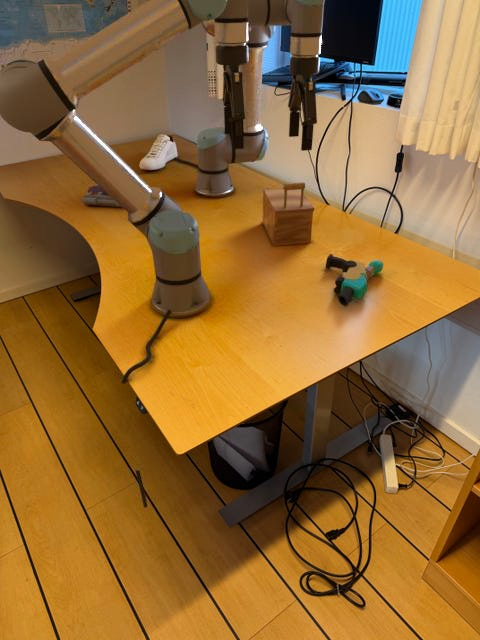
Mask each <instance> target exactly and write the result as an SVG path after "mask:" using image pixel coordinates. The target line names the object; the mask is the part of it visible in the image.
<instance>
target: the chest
mask: <svg viewBox="0 0 480 640" xmlns="http://www.w3.org/2000/svg"><path fill="white" fill-rule="evenodd" d="M313 217H314V211H309V212H296V213H284V214H275V212H274V211H273V209H272V207H271V205H270V203H269V202H268V200H267V198H266V196H265V194H264V192H263V191H262V224H263V227H264V229H265V231H266V233H267V236H268V237H269V239H270V241H271V243H272V245H273V247H275V246H276V247H277V246H287V245H289V246H290V245H299V244H308V243H309V244H311V241H312V240H311V239H312V231H313V227H312V226H313V219H314V218H313Z"/></svg>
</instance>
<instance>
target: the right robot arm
mask: <svg viewBox="0 0 480 640" xmlns="http://www.w3.org/2000/svg"><path fill="white" fill-rule="evenodd" d="M325 2H326V0H248V26H250V27H251V30H250V31H248V42H247V43H246V45H248V63H247V64H244V65H239V72H242V74H243V76H242V83H243V96H244V110H245V119H244V120H243V121H244V149H232V134H225V126H219V127H218V126H217V127H216V126H215V127H209V128H206V129H204V130H202V131H200V132H199V133H198V134H197V137H196V149H197V163H198V164H197V163H194V162H192V161H188V160H184V159H182V158H178V157H175V158H174V159H173V160H175V161H178V162H181V163H183V164H188V165H191V166H193V167H196V168H198V175H197V179H196V182H195V190H194V191H195V194H196V195H198V196H200V197H204V198H206V199H207V198H208V199H209V198H210V199H217V198H219V199H220V198H225V197H227V196H230V195H232V194H234V191H235V187H234V182H233V180H232V177H231V174H230V171H229V168H230V167H229V166H230V165H231V164H232V165H233V164H242V163H255V162H259V161H262V160H263V159H264V158H265V157H266V155H267V152H268V149H269V134H268V131H267V129H265V128H264V127H265V126H264V124H263V123H262V122H261V109H262V108H261V107H262V88H263V87H262V85H263V68H264V67H263V64H264V51H265V49H266V48H267V47H268V46H269V39H272V38H273V37H274V36H275V33H276V26H277V27H279V26H291V27H290V28H291V29H290V43H289V45H290V46H289V55H291V56H290V58H289V70H288V71H289V73H290V74H291V77H292V78H291V85H290V92H289V96H288V97H289V98H288V102H287V103H288V104H287V108H289V127H288V137H289V138H294V137H299V136H300V126H302V131H301V144H300V151H302V152H303V151H304V152H305V151H312V150H313V139H314V138H313V137H314V126H315V125H317V123H318V117H317V116H318V115H317V114H318V113H317V96H316V95H317V93H316V88H317V83H316V81H315V80H312V76H313V75H317V74H319V73H320V63H321V58H320V57H319V55H320V54H321V49H322V48H321V47H322V46H321V45H323V44H324V41H323V39H322V35H323V34H322V33H323V23H324V11H325ZM214 22H215V21H214V19H212V20H208V21H203V22H201V23H200V24H201V26H202V28H203V30H204V31H205V32H206V33H207V34H208V35H210V36H211V37H214V38H215V28H214ZM301 111H302V119H303V121H302V122H301V125H300V119H301V116H300V115H301Z"/></svg>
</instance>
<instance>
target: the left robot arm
mask: <svg viewBox="0 0 480 640" xmlns="http://www.w3.org/2000/svg"><path fill="white" fill-rule="evenodd" d="M212 19H214V21H215V22H214V28H215V37H214V42H215V43H216V44H217V45H215V62H216V64H217V65H220V66H222V68H223V72H222V78H223V80H222V81H223V82H222V100H221V101H222V102H223V121H224V123H223V125H224V128H225V134H232V149H244V121H243V120H244V119H245V110H244V96H243V83H242V76H243V74H242V72H239V65H244V64H247V63H248V45H246V43H247V42H248V31H250V30H251V27H250V26H248V0H147V1H146V2H144V3H142V4H141V5H139V6H137V7H136V8H134V9H132V10H131V11H130V12H128V13H126V14H125V15H124V16H121V17H120V18H119V19H116V21H113V22H112V23H110V24H109V25H107V26H106V27H104V28H103V29H100V31H98V32H96V33H94V34H93V35H91V36H90V37H89V38H86V39H85V40H84V41H82V42H80V43H78V44H76V45H75V46H74V47H72V48H70V49H69V50H68V51H66V52H64V53H63V54H61V55H60V56H58V57H57V58H55V59H50V58H46V57H44V58H42V59H41V60H39V61H38V62H35V61H33V60H29V59H16V60H12V61H10V62H8V63H7V64H5V66H3V67H2V68H1V70H0V117H1V118H2V120H3V121H4V122H6V123H7V124H8V125H10V126H11V128H14V129H16V130H18V131H20V132H24V133H28V134H29V133H30V134H31V135H32V136H33V137H35V139H37V140H38V142H50V143H51V144H52V145H53V146H55V147H56V148H57V149H58V150H59V151H60V152H61V153H62V154H63V155H65V156H66V157H67V159H69V160H70V161H71V162H72V163H73V164H74V165H76V166H77V167H78V168H79V169H80V170H81V171H82V172H83V173H84V174H85V175H86V176H87V177H89V178H90V180H92V181H93V182H94V183H95V185H99V186H100V187H101V188H102V189H103V190H104V191H105V192H106V193H107V196H109V197H110V196H111V197H112V198H113V199H114V200H115V201H116V202H117V203H118V204H119V205H120V206H121V207H120V208H122V209H123V210H124V211H126V212H127V221H128V222H129V223H130V224H131V225H132V226H133V227H135V228H136V229H137V230H138V231H139V232H140V233H141V235H143V236H144V237H145V239H146V240H147V243H148V245H149V248H150V250H151V253H152V260H153V261H152V262H153V268H154V274H155V275H154V276H155V281H154V284H153V290H152V294H151V305H152V308H153V310H154V311H155V312H156V313H157V314H159V315H160V316H163V317H162V319H161V321H160V323H159V324H158V326H157V328H156V330H155V331H154V333H153V335H152V336H151V338H149V340H148V341H147V342H146V344H145V352H146V357H145V358H144V359H143V360H142V361H140V362H138V363H136V364H134V365H133V366H131V367H129V369H127V370H126V372H125V373H124V375H123V376H122V379H121V384H123V385H125V384H126V383H127V381H128V379H129V377H130V375H131V374H132V373H134V372H135V371H136V370H137V369H139V368H141V367H144V366H145V365H146V364H147V363H149V361H150V360H151V358H152V351H151V345H152V344H153V343H154V342H155V340H156V339H158V336H159V334H161V333H160V332H161V331H162V329H163V327H164V326H165V324H166V322H167V320H168V318H171V319H183V318H185V319H186V318H190V317H194V316H196V315H199V314H201V313H202V312H204V311H205V310H207V308H208V307H209V306H210V303H211V292H210V290H209V288H208V285H207V282H206V281H205V278H204V277H203V275H202V262H201V261H202V259H201V247H200V246H201V245H200V244H201V243H200V235H201V234H200V228H199V226H198V221H197V219H196V218H195V217H194V216H193V215H192V214H190V213H189V212H184V210H182V208H181V206H180V205H179V204H178V202H177V201H175V200H174V199H173V198H171V197H170V196H168V195H167V194H166V193H165V192H164V191H163V190H162V189H161V188H160V187H157V186H156V187H155V186H153V187H151V186H150V185H149V184H148V183H147V182H146V181H144V179H143V178H142V177H141V176H140V175H138V173H136V171H135V170H134V169H133V168H132V167H131V166H130V165H129V164H128V163H126V161H125V160H124V159H123V158H122V157H121V156H120V155H119V154H118V153H117V152H115V150H114V149H113V148H112V147H111V146H110V145H109V144H108V143H107V142H106V141H105V140H104V138H102V137H101V136H100V135H99V134H98V133H97V132H96V131H95V130H94V129H93V128H92V127H91V126H90V125H89V124H87V123H88V122H86V121H85V120H84V119H83V118H82V117H81V116H80V115H79V114H78V113H77V109H78V108H79V103H80V100H81V99H82V98H84V97H86V96H87V95H89V94H91V93H92V92H93V91H95V90H97V89H98V88H101V86H103V85H104V84H106V83H108V82H109V81H111V80H112V79H114V78H115V77H117V76H118V75H120V74H122V73H123V72H125V71H126V70H128V69H130V68H131V67H133V66H135V65H136V64H137V63H139V62H141V61H142V60H144V59H145V58H147V57H148V56H150V55H151V54H153V53H155V52H157V51H158V50H159V49H162V48H163V47H164V46H166V45H168V44H169V43H170V42H172V41H173V40H175V39H177V38H178V37H180V36H182V35H183V34H185V33H187V32H188V31H190V30H191V29H194V28H195V27H197V26H198V25H200V24H202V23H201V22H203V21H208V20H212ZM134 471H135V474H136V478H137V483H138V486H139V492H140V495H141V499H142V504H143V508H145V509H146V508H147V507H148V502H147V496H146V492H145V487H144V483H143V479H142V475H141V471H140V470H139V469H138V470H136V469H135V470H134Z"/></svg>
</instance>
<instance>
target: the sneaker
mask: <svg viewBox="0 0 480 640" xmlns="http://www.w3.org/2000/svg"><path fill="white" fill-rule="evenodd" d="M178 156H179V155H178V149H177V144H176V140H175V136H174V135H173V134H164V133H161V134H158V135H157V137H156V139H155V140H154V142H153V143H152V146H151V148H150V150H149V151H148V153H147V154H146V155H145V156H144V157H143V158H142V159H141V160H140V162H139V169H141V170H144V171H156V170H160V169H162V168H164V167H165V166H166V164H167V163H168V162H170V161H172V160H175V159H174V158H175V157H176V158H178Z"/></svg>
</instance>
